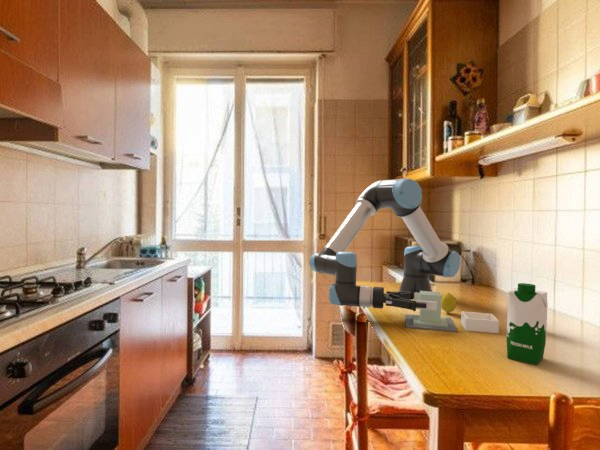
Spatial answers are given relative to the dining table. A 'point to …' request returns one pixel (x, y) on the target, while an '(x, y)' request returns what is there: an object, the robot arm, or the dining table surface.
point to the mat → (449, 321)
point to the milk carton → (526, 324)
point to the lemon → (448, 302)
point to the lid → (430, 311)
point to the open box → (479, 322)
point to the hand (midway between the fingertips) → (434, 301)
